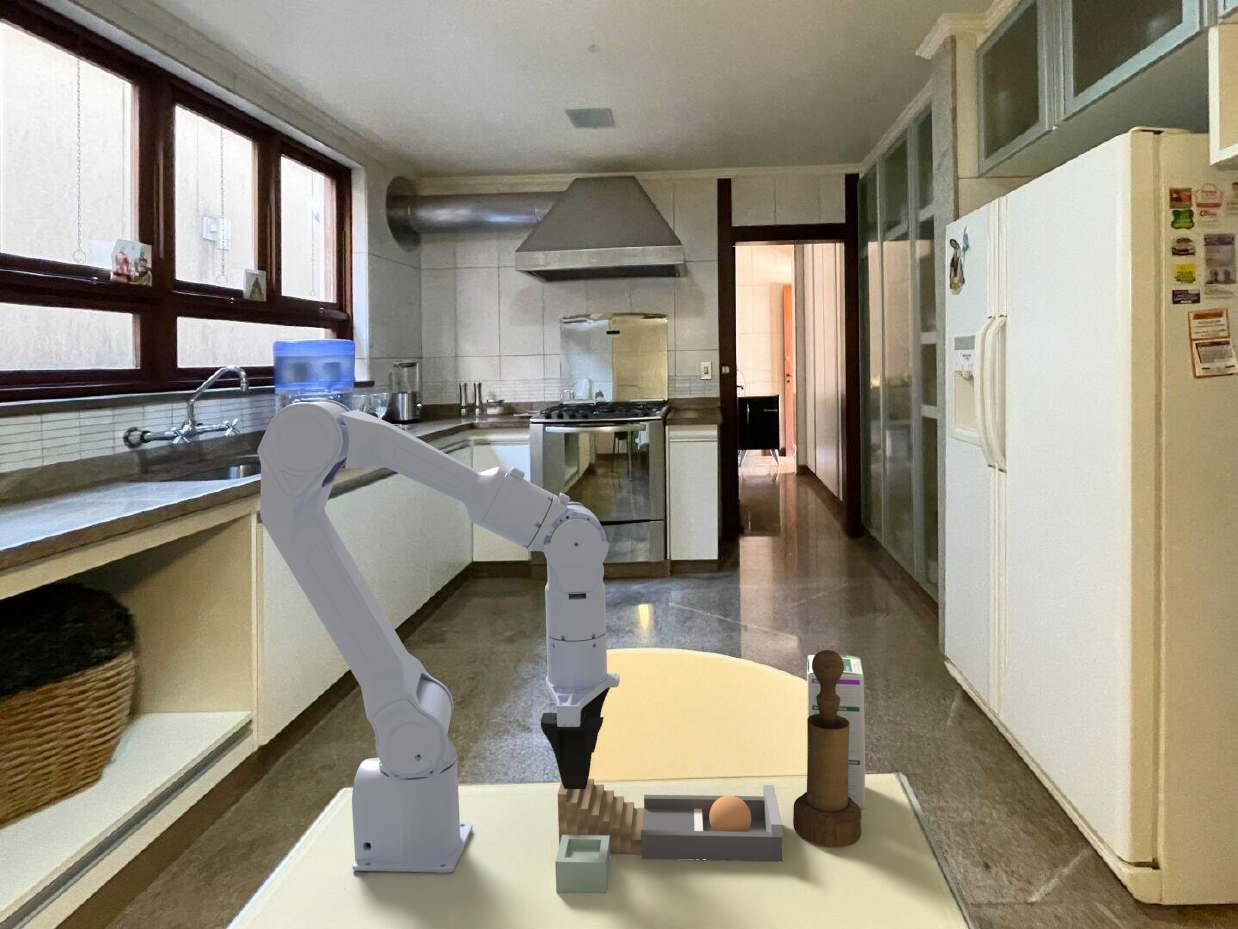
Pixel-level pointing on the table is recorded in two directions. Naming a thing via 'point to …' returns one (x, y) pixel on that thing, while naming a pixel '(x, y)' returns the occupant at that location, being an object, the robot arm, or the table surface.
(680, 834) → the lane
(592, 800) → the staircase
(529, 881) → the table surface
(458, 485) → the robot arm
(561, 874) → the hollow square container
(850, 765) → the syrup box
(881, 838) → the table surface
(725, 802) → the ball
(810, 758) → the mortar and pestle
